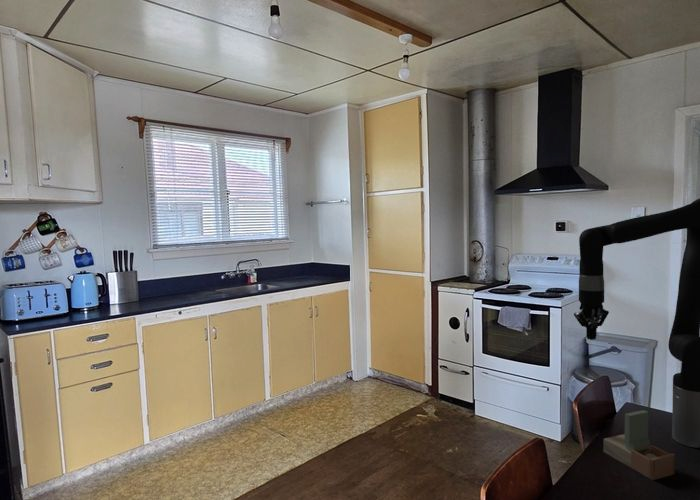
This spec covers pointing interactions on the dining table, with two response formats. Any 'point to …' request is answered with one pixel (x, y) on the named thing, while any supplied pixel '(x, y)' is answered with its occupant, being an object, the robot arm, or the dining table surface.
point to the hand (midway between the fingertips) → (591, 339)
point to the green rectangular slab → (637, 430)
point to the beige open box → (620, 449)
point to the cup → (654, 463)
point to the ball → (650, 456)
